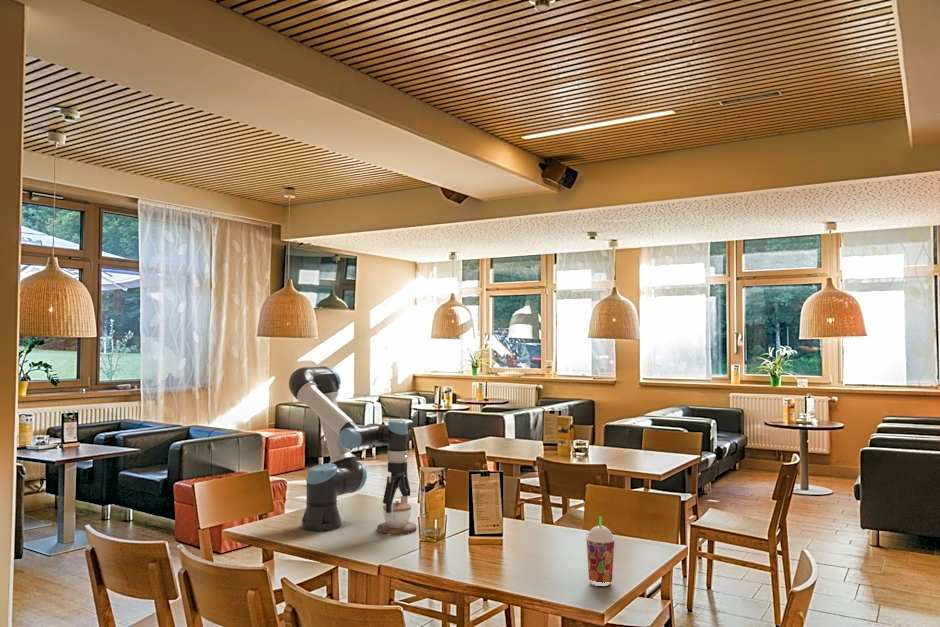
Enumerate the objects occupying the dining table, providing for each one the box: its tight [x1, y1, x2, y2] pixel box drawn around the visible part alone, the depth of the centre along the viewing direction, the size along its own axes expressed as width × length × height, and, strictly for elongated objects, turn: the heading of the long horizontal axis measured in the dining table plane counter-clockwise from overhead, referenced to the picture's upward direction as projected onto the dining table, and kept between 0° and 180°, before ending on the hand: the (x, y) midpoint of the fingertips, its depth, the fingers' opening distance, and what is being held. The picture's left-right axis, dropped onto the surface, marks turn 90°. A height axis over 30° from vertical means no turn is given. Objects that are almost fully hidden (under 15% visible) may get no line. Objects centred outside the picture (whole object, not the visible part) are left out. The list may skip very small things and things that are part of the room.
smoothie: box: [586, 516, 615, 583], centre depth 216 cm, size 8×8×20 cm
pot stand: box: [376, 521, 418, 536], centre depth 276 cm, size 15×15×2 cm
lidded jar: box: [382, 500, 412, 528], centre depth 276 cm, size 11×11×9 cm
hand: (396, 517), depth 276 cm, fingers open, 13 cm apart
